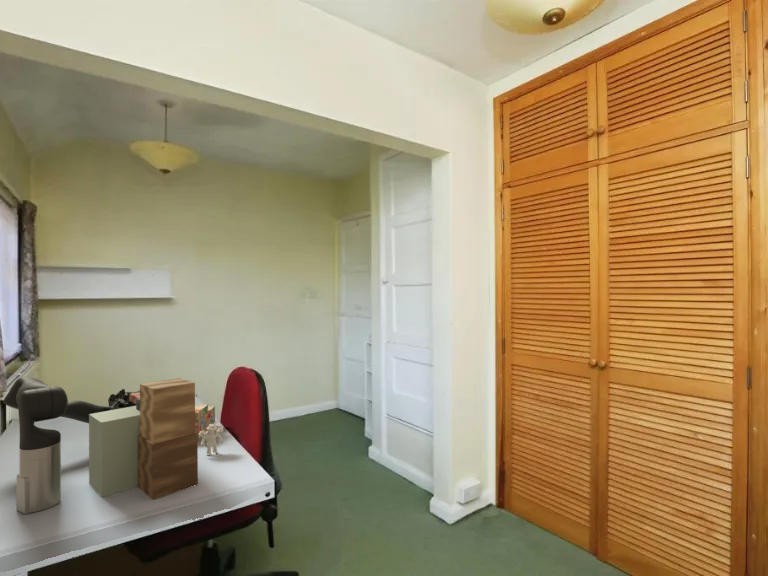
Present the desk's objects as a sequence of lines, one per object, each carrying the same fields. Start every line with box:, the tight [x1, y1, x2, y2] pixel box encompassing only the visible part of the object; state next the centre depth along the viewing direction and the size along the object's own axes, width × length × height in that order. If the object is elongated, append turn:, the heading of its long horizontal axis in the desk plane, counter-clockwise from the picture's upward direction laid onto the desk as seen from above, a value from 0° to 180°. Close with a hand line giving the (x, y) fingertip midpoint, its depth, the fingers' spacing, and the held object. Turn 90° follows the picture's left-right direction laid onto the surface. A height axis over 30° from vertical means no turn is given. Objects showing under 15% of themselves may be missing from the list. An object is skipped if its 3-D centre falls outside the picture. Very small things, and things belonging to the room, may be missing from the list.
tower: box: [137, 377, 199, 501], centre depth 132 cm, size 13×13×32 cm
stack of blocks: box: [195, 404, 216, 442], centre depth 183 cm, size 21×6×12 cm, turn 4°
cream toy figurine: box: [199, 419, 225, 456], centre depth 159 cm, size 9×4×12 cm, turn 127°
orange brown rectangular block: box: [129, 391, 140, 411], centre depth 146 cm, size 23×8×4 cm, turn 48°
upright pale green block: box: [88, 406, 140, 498], centre depth 139 cm, size 14×24×22 cm, turn 137°
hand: (137, 389), depth 151 cm, fingers open, 8 cm apart
